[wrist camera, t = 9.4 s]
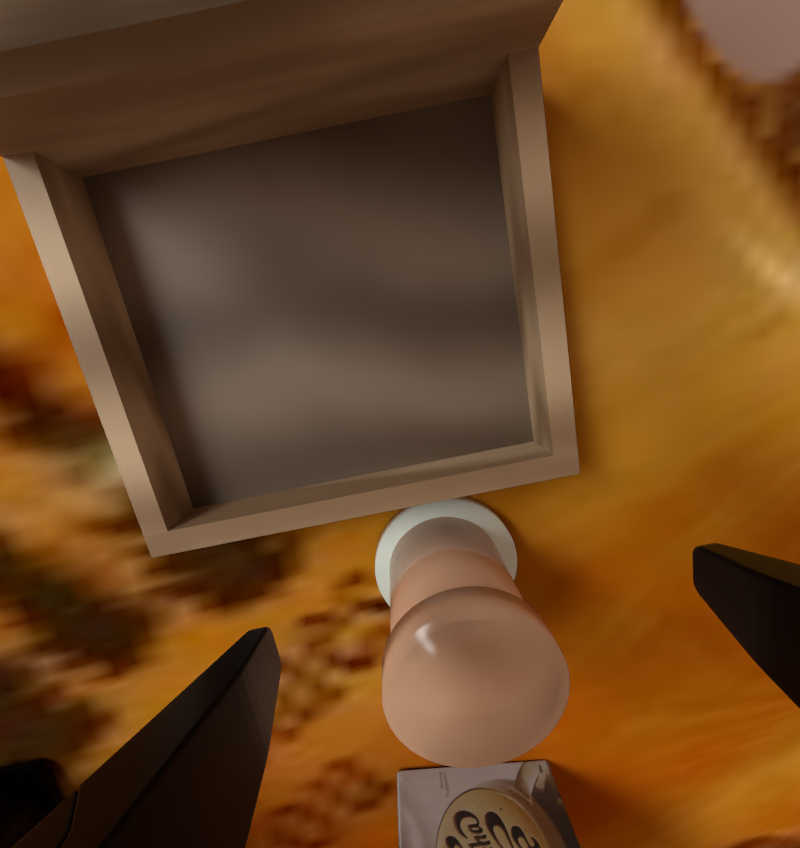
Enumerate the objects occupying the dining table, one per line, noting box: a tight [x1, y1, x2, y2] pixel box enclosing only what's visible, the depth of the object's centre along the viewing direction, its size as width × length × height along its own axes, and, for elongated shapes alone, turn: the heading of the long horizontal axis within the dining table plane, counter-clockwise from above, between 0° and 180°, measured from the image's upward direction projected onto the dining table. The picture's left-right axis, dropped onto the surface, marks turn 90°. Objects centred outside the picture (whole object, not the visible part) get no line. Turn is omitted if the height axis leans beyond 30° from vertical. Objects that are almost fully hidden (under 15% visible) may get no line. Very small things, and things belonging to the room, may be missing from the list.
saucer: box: [375, 496, 517, 606], centre depth 20 cm, size 7×7×1 cm
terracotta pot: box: [382, 517, 570, 768], centre depth 16 cm, size 6×6×7 cm
